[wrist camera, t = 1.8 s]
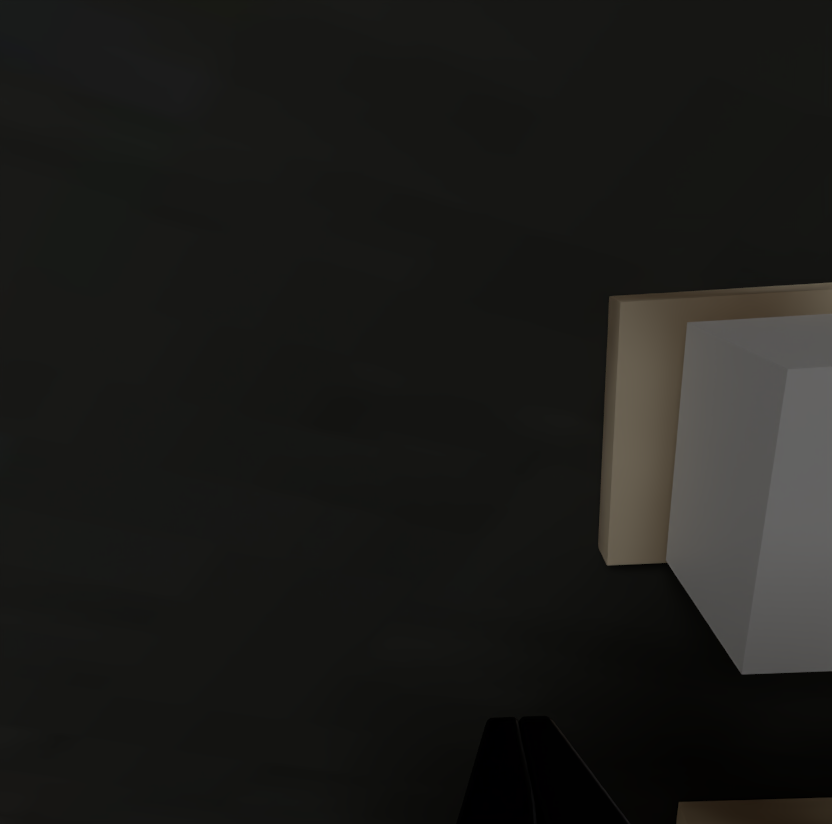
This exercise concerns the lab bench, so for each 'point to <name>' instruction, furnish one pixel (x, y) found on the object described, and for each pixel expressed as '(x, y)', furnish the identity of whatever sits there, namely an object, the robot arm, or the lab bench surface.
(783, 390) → the cover
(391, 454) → the lab bench surface
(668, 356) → the plate
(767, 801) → the socket block
